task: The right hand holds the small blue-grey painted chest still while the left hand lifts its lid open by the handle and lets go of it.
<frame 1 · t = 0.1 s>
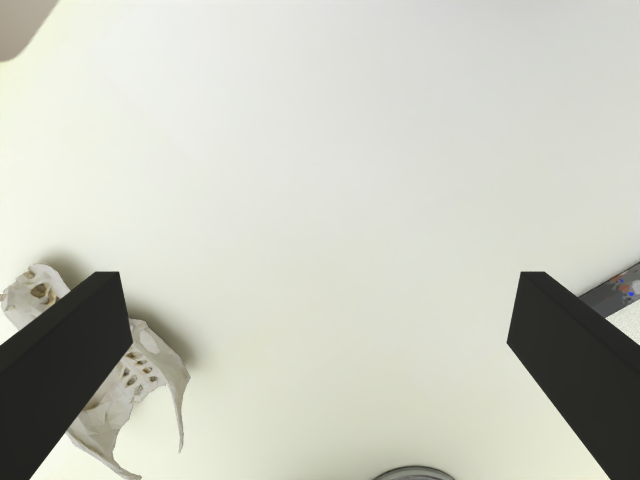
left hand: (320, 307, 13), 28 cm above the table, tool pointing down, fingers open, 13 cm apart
anatomical model: (116, 342, 46), on the table
pillar: (605, 290, 44), on the table
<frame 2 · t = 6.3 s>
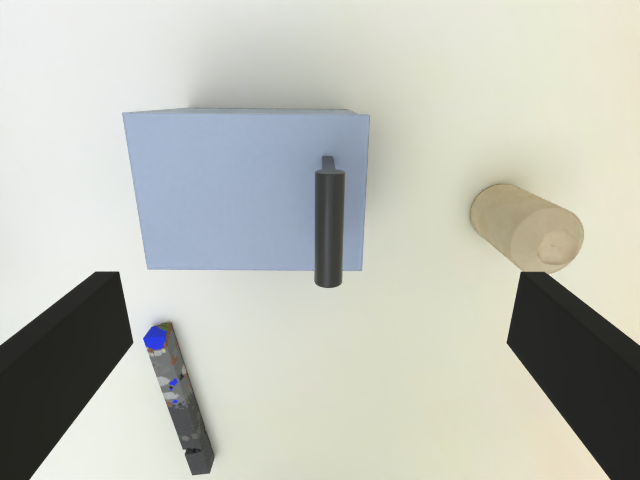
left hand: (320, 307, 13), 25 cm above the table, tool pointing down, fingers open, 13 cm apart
candle: (497, 210, 37), on the table
pillar: (185, 394, 45), on the table
lid: (241, 210, 22), point 15 cm above the table, hinge at 0.0°
chest: (269, 166, 36), on the table
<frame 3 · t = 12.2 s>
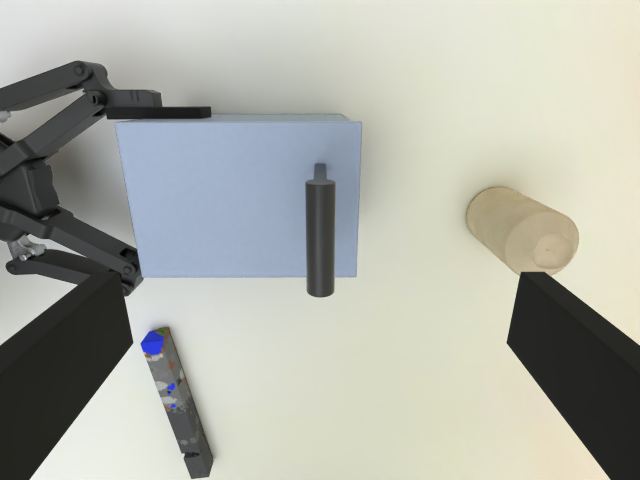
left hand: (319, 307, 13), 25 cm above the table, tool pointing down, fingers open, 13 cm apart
right hand: (213, 187, 30), fingers closed on chest, 10 cm apart
candle: (493, 213, 37), on the table
pillar: (183, 398, 45), on the table
lid: (234, 219, 22), point 15 cm above the table, hinge at 0.0°
chest: (264, 171, 36), on the table, touching right hand
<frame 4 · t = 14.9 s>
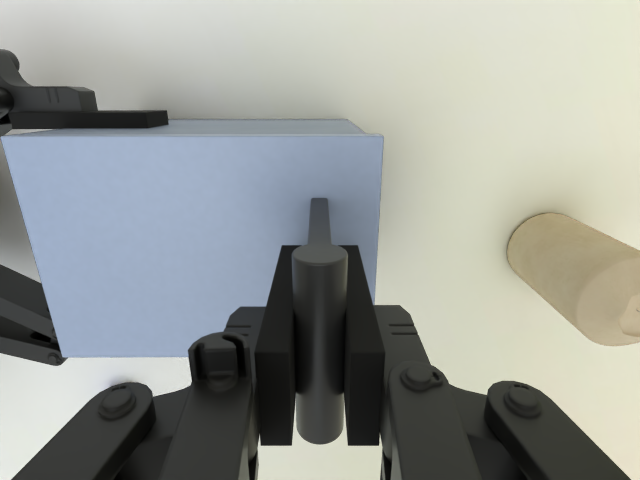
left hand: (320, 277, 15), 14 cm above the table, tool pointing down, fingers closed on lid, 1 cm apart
candle: (541, 246, 29), on the table
lid: (182, 292, 14), point 15 cm above the table, hinge at -0.1°, touching left hand
chest: (247, 193, 28), on the table, touching right hand
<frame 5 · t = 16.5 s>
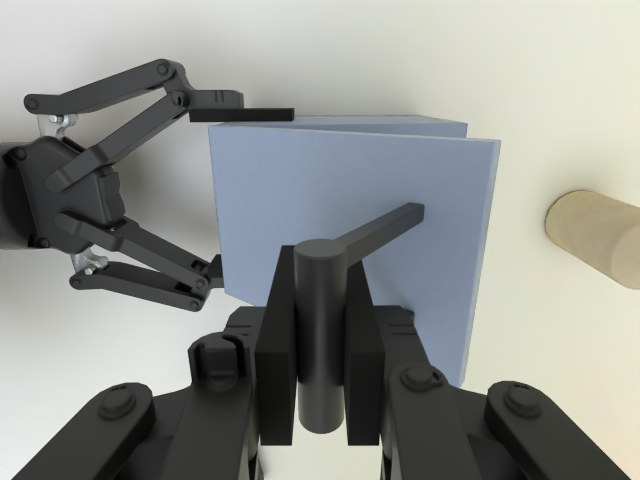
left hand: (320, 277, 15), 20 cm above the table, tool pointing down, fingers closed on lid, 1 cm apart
right hand: (295, 194, 27), fingers closed on chest, 10 cm apart
candle: (573, 218, 35), on the table
lid: (273, 262, 16), point 19 cm above the table, hinge at 37.0°, touching left hand
chest: (333, 176, 34), on the table, touching right hand
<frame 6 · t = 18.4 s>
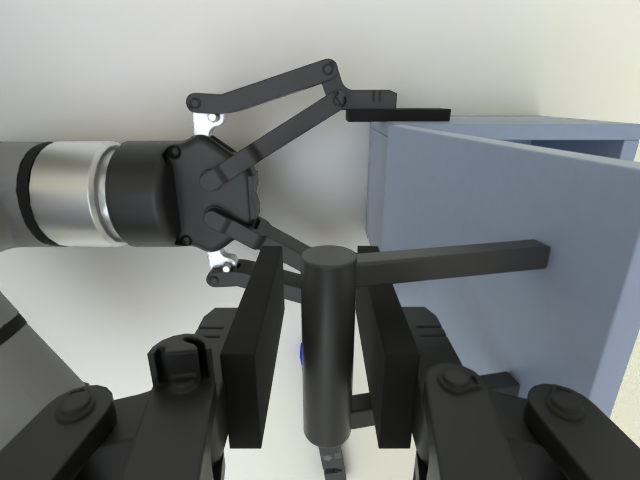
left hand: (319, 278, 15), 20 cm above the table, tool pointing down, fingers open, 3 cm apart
right hand: (435, 194, 28), fingers closed on chest, 10 cm apart
pillar: (324, 412, 43), on the table
lid: (377, 267, 16), point 19 cm above the table, hinge at 77.9°
chest: (448, 176, 34), on the table, touching right hand
when the right hand's fingers open (7 cm above the table, at t = 22.2 s): chest stays where it is, on the table.
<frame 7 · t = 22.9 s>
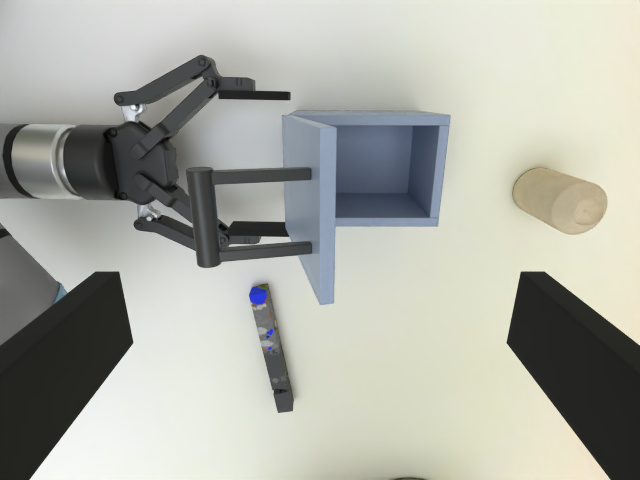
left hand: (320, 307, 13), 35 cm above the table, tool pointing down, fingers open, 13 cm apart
right hand: (290, 166, 39), fingers open, 13 cm apart
candle: (534, 189, 47), on the table
pillar: (273, 345, 55), on the table
lid: (255, 195, 27), point 19 cm above the table, hinge at 77.1°
chest: (356, 156, 46), on the table
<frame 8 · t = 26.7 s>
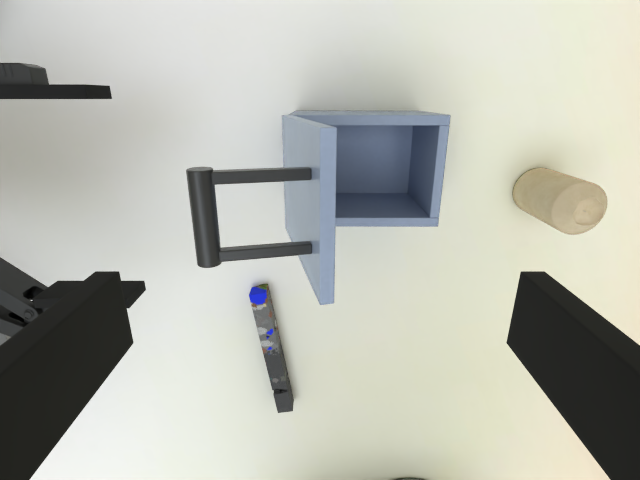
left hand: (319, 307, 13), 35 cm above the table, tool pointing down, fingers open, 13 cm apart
candle: (534, 189, 47), on the table
pillar: (273, 345, 55), on the table
lid: (255, 195, 27), point 19 cm above the table, hinge at 77.1°
chest: (356, 156, 46), on the table
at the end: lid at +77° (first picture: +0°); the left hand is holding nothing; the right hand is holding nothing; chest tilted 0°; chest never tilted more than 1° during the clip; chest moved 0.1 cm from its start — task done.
